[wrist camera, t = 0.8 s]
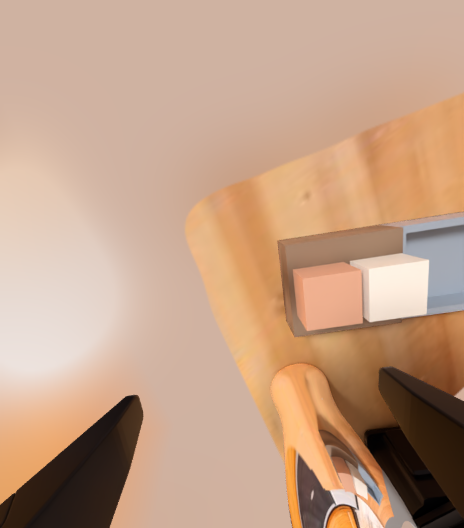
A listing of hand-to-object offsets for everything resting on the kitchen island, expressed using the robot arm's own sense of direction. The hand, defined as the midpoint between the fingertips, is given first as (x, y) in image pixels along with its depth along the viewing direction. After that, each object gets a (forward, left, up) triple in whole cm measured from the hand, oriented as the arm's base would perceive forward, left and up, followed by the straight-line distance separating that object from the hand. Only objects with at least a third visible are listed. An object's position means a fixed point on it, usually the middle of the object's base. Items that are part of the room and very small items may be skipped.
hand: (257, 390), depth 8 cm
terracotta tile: (-1, -6, -10) cm, 12 cm away
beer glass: (-13, -4, -13) cm, 19 cm away
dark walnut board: (-1, -8, -13) cm, 15 cm away
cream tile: (-1, -11, -10) cm, 15 cm away
